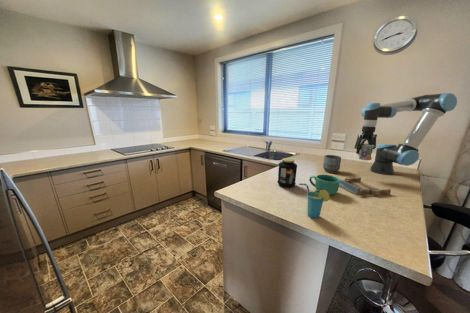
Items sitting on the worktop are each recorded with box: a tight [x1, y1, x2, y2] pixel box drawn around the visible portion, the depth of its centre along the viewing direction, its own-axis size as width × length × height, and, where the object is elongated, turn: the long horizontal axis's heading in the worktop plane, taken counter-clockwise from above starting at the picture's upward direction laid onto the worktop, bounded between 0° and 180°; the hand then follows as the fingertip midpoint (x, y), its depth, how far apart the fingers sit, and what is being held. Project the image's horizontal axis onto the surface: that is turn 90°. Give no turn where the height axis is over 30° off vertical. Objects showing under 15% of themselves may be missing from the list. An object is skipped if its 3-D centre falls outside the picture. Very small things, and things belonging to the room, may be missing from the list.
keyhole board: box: [338, 176, 392, 199], centre depth 116 cm, size 21×21×4 cm
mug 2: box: [359, 143, 375, 161], centre depth 130 cm, size 12×9×11 cm
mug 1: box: [309, 174, 340, 196], centre depth 111 cm, size 17×13×10 cm
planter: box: [322, 154, 342, 174], centre depth 149 cm, size 12×12×13 cm
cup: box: [298, 183, 331, 220], centre depth 84 cm, size 14×8×15 cm, turn 54°
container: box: [277, 157, 298, 188], centre depth 120 cm, size 12×12×18 cm
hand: (363, 158), depth 131 cm, fingers closed on mug 2, 8 cm apart
